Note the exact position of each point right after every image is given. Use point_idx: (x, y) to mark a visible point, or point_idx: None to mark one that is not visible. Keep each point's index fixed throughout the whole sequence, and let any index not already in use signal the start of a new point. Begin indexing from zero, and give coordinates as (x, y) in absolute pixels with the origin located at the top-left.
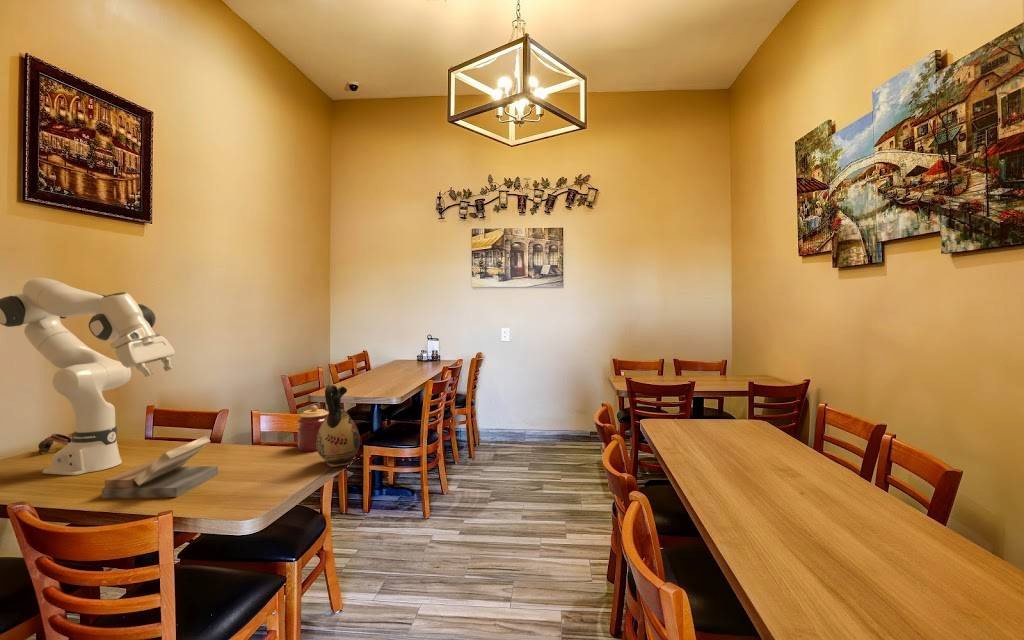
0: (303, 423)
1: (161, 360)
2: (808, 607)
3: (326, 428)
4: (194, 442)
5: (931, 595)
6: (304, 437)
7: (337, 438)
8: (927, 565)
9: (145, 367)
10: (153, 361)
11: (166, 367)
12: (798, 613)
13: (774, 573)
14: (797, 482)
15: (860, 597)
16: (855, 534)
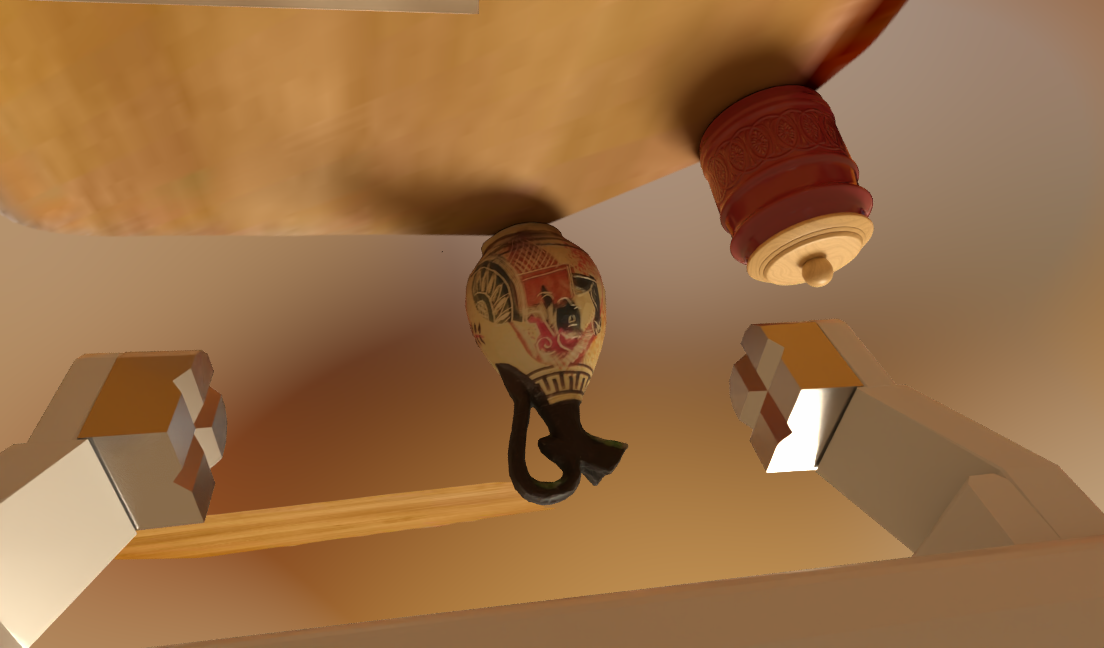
0: (747, 220)
1: (992, 534)
2: None
3: (500, 353)
4: (337, 8)
5: (145, 550)
6: (729, 168)
7: (477, 343)
8: (195, 548)
9: (20, 623)
10: (789, 572)
11: (769, 407)
12: None
13: (146, 529)
14: (368, 523)
15: None
16: (243, 538)
